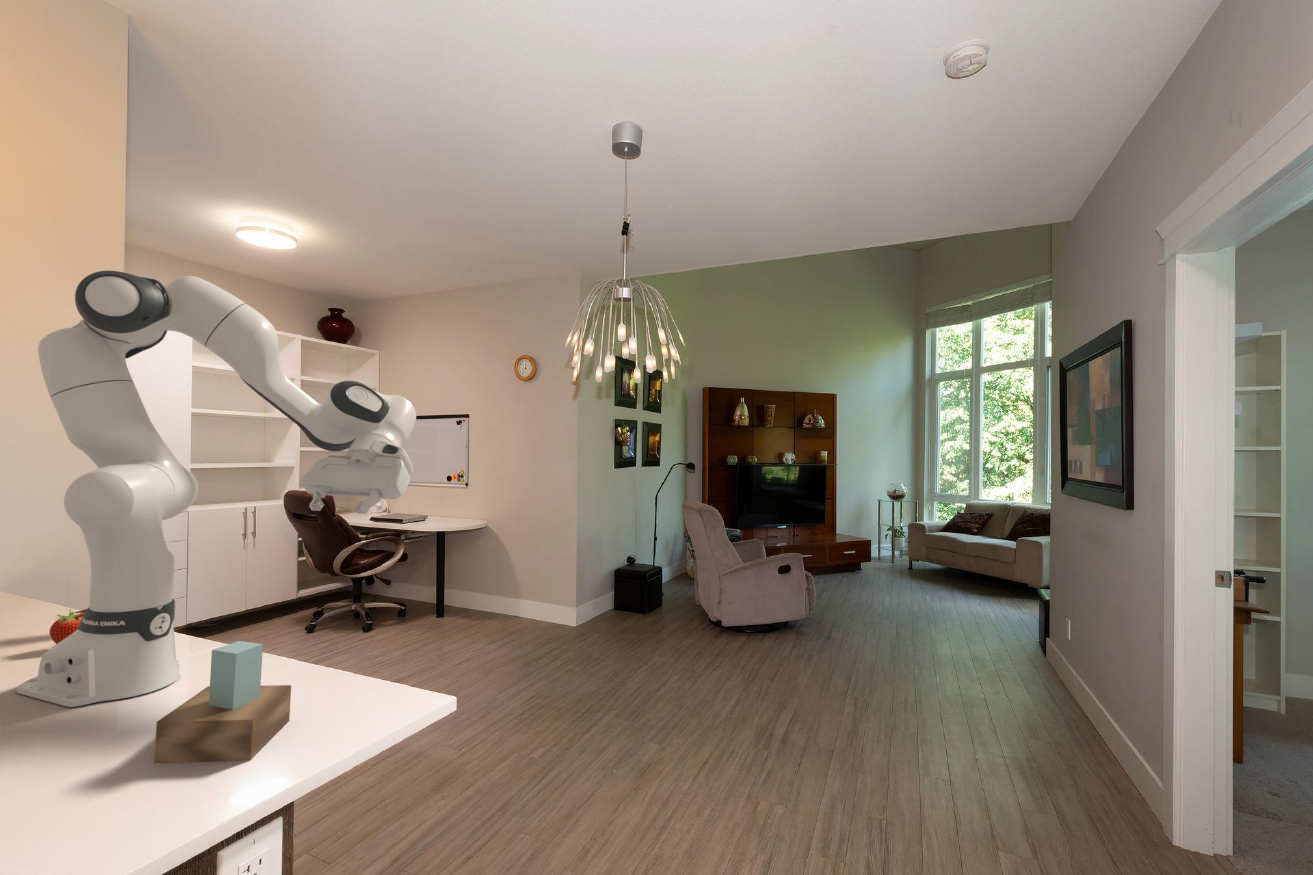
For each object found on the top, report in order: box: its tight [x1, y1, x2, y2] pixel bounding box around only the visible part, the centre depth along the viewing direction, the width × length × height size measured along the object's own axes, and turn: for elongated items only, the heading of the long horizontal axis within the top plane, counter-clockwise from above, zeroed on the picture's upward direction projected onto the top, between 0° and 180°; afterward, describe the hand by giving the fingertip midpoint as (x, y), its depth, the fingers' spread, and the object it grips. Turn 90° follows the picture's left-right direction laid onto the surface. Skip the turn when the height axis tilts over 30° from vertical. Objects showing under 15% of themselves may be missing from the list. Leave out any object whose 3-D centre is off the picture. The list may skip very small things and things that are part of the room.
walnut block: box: [154, 684, 292, 764], centre depth 89 cm, size 12×12×6 cm
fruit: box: [49, 609, 83, 645], centre depth 121 cm, size 5×5×8 cm
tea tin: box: [209, 640, 264, 710], centre depth 89 cm, size 4×4×8 cm
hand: (337, 510), depth 114 cm, fingers open, 8 cm apart
